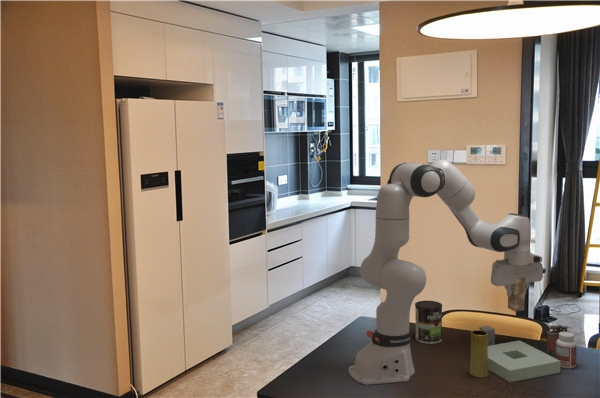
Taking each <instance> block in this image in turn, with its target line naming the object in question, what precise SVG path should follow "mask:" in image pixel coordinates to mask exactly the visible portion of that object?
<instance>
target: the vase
mask: <svg viewBox="0 0 600 398" xmlns="http://www.w3.org/2000/svg"><path fill="white" fill-rule="evenodd" d="M488 346H489V345H488V333H487V332H486V331H483V330H479V329H474V330H472V331H470V363H469V364H470V365H469V374H470V375H471V376H473V377H475V378H480V379H481V378H487V377H488V376H489V375H490V372H489V369H488Z"/></svg>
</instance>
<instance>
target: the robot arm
mask: <svg viewBox="0 0 600 398" xmlns="http://www.w3.org/2000/svg"><path fill="white" fill-rule="evenodd" d="M436 194H437V196H438V197H439V198H440V200H441V201H442V202H443V203H444V204H445V205H446V207H448V209H449V211H450V212H451V213H452V215H454V217H455V218H456V220H457V221H458V223H459V224H460V225H461V226H462V228H463V229H464V231H465V234H466V237H467V239H468V242H469V243H470V244H471V245H472V246H474V248H475V247H476V248H480V249H486V250H489V251H492V252H495V253H496V252H497V253H504V254H503V257H504V258H503V259H497V260H495V261H494V262H493V263H492V265H491V274H490V283H491V285H493V286H496V287H504V289H505V290H506V295H507V297H508V296H509V297H511V296H513V293H514V292H513V291H511V289H510V288H511V285H513V284H515V279H518V278H525V295H527V290H528V288H529V286H530V283H536V282H541V281H542V280H543V278H544V270H543V269H544V267H543V264H542V262H543V256H541V255H537V254H535V253H532V252H531V247H530V242H531V238H532V230H531V221H530V219H529V217H528V216H527V215H523V214H519V213H513V212H511V213H507V214H506V216H505V217H504V218H503V219H501V220H500V221H498V222H496V223H492V222H489V221H487V220H484V219H481V218H479V216H477V214H476V213H475V211H474V210H473V208H472V207H471V205H472V203H473V202H474V199H475V198H476V197H475V196H476V190H475V187H474V186H473V184H472V183H471V181H470V180H469V179H468V178H467V176H465V175H464V174H463V172H461V170H460V169H459V168H457V167H456V166H455V165H454V164H453V163H451V162H450V161H449V160H446V159H439V160H436V161H434V162H433V163H431V164H423V163H420V162H402V163H399V164H396V165H395V166H394V167H393V168H392V170H391V172H390V174H389V178H388V180H387V182H386V184H385V185H383V186H382V187H381V188H379V190H378V194H377V199H376V205H375V206H376V207H375V229H374V231H375V233H374V234H375V235H374V243H373V246H372V249H371V251H370V253H369V255H368V256H366V257H365V258H364V259H363V261H362V262H361V264H360V268H359V269H360V270H359V273H360V276H361V279H363V281H364V282H366V283H368V284H369V285H371V286H373V287H375V288H379V289H382V290H385V291H386V295H385V300H384V301H382V302H380V303H379V304H378V305H377V306H376V309H375V315H376V316H375V318H376V321H375V322H376V324H375V325H376V329H375V331H374V332H373V331H371V330H367V331H366V336H367V337H368V338H370V339H371V341H369V343H367V345H365V346H364V347H363V348H362V349H361V350H358V352H357V353H356V356H355V358H354V359H355V360H354V364H353V365H350V366H348V369H347V370H348V371H347V373H348V375H350V377H351V378H352V379H353V380H354V381H356V382H357V383H360V384H361V385H367V386H369V385H377V384H389V383H402V382H409V380H410V378H411V377H412V376H413V375H414V374H415V372H416V369H415V367H414V363H413V358H412V351H411V350H412V349H411V344H412V334H411V333H412V332H411V329H410V316H411V314H410V311H411V306H412V304H413V301H414V299H415V298H416V297H417V296H418V295H420V293H422V292H423V291H424V289H425V287H426V283H427V275H426V271H425V270H424V269H423V267H421V266H420V265H418V264H416V263H413V262H411V261H408V260H403V259H399V257H398V256H399V251H400V249H401V248H403V247H404V246H405V245H407V244H408V243H409V240H410V204H411V201H412V199H413V197H416V198H417V197H418V198H419V197H420V198H429V197H432V196H434V195H436Z"/></svg>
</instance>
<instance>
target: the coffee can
mask: <svg viewBox="0 0 600 398" xmlns="http://www.w3.org/2000/svg"><path fill="white" fill-rule="evenodd" d="M414 306H415V340H416V341H417V342H419V343H421V344H427V345H430V344H431V345H435V344H439V343H441V342H442V341H443V304H442V303H441V302H439V301H435V300H419V301H416V302H415V303H414Z"/></svg>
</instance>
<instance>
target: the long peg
mask: <svg viewBox="0 0 600 398" xmlns="http://www.w3.org/2000/svg"><path fill="white" fill-rule="evenodd" d="M510 289H511V291H513V292H514V293H513V296H511V297H509V296H507V309H509V310H512V311H513V312H520V311H525V297H526V294H525V278H518V279H515V284H513V285H511V288H510Z"/></svg>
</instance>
